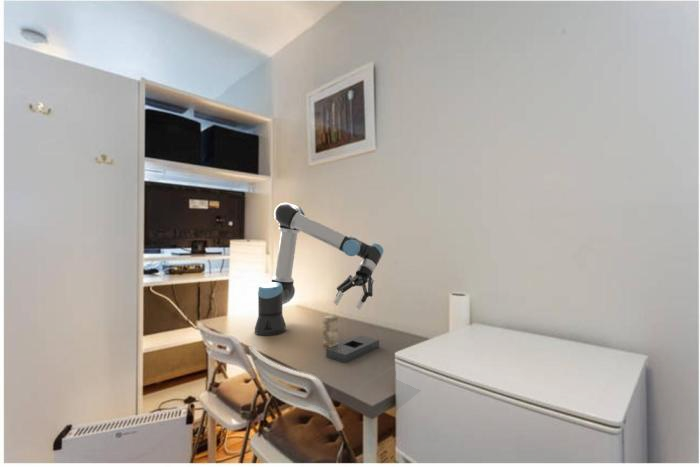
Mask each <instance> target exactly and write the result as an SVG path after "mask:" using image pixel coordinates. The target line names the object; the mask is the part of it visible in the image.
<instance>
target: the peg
mask: <svg viewBox="0 0 700 467" xmlns="http://www.w3.org/2000/svg"><path fill="white" fill-rule="evenodd" d="M338 318H339V317H338V316H335V315H331V314H330V315H326V316H323V317H322V322H323V323H322V324H323V326H322V328H323V329H322V330H323V332H322V339H323V340H322V342H323V343H322V346H326V347H327V348H330V347H332V346H335V345H337V344H339V342H338V339H339V337H338V333H339V332H338V329H339V327H338V321H339V320H338Z"/></svg>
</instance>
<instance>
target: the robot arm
mask: <svg viewBox="0 0 700 467" xmlns="http://www.w3.org/2000/svg"><path fill="white" fill-rule="evenodd" d="M305 215H306V214H305V212H304V210H303V209H302V208H301V207H300V206H298V205H297V204H292V203H289V202H283V203H282V202H281V203H280V204H278V205H277V206H276V207H275V209H274V212H273V216H274V220H275V221H276V222H277V223H278V229H279V230H280V239H279V245H278V246H279V247H278V253H277V260H276V261H277V262H276V268H275V275H274V276H273V277H272V278H271V282H266V283H265V282H264V283H262V284H260V286H259V287H258V292H257V296H258V299H257V300H258V302H257V303H258V312H257V313H258V317H257V319H256V322H255V323H256V324H255V326H254V334H256V333H257V334H256V335H258V334H260V335H259V336H274V335H275V336H276V335H280V334H283V333H286V331H287V324H286V322H285V318H284V316H283V305H285V304H287V303H289V302H290V301H291V300H292V299H293V297H294V296H295V294H296V289H295V286H294V279H293V277H292V275H293V267H294V260H295V253H296V245H297V240H298V234H299V233H300V232H302V233H304V234H306V235H308V236H310V237H312V238H314V239H316V240H318V241H321V242H322V243H324V244H326V245H329V246H331V247H332V248H335V249H337V250H339V251H341V252H342V253H344V254H345V255H347V256H349V257H354V256H358V257H359V258H361V259H362V261H361V262H360V264H359V266H358V267H357V269H356V272H355V275H353V276H352V275H351V274H350V275H348V277H347V278H346V279H345V280H343V282H342V283H339V285H338V286H337V287H336V290H337V293H336V295H335V298H334V300H333V303H334V304H335V305H336V306H338V304H339V303H340V301H341V299H342V298H343V296H344V293H345V292H347V291H348V290H350V289H351V288H353V287H362V291H363V293H362V294H361V295H360V297H359V299H358V301H357V303H356V305H355V306H356V308H357V309H358V310H361V308H362V307H363V304H364V303H365V302H366V301H367V299H368V298H369V297H373V293H374V292H373V285H374V281H375V280H374V279H373V277H372V276H373V274H374V271H375V270H376V267H377V265H378V264H379V262H380V260H381V258H382V256H383V254H384V248H383V246H381V245H380V244H379V243H372V244H371V245H369V244H367V243H366V242H363V241H362V240H359V239H357V238H356V237H353V236H347V235H345V234H342V233H340V232H339V231H337V230H334V229H332V228H330V227H328V226H326V225H325V224H322V223H320V222H317V221H316V220H314V219H312V218H310V217H307V216H305ZM366 284H367V285H366Z"/></svg>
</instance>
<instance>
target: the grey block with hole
mask: <svg viewBox="0 0 700 467" xmlns="http://www.w3.org/2000/svg"><path fill="white" fill-rule="evenodd" d="M379 348H380V339H377V338H373V337H369V336H366V335H358V336H355V337H352V338H351V339H347V340H345V341H343V342H340V343H338V344H337V345H335V346H332V347H327V348H325V356H326V357H327V358H330V359H331V360H336V361H339V362H341V363H345V364H347V363H348V362H351V361H353V360H355V359H357V358H359V357H362V356H364V355H366V354H367V353H370V352H372V351H373V350H376V349H379Z"/></svg>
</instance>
